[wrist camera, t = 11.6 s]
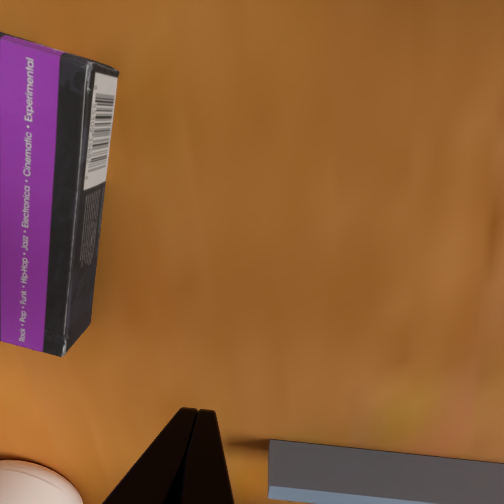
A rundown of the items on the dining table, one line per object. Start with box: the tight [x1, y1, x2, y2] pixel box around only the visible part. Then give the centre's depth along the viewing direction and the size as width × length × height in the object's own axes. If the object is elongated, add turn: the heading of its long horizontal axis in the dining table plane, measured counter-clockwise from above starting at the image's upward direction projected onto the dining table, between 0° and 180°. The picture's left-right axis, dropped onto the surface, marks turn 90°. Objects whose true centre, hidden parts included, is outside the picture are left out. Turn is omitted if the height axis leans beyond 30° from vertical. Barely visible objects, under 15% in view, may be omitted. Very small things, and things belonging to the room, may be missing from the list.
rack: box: [268, 440, 504, 504], centre depth 16 cm, size 28×18×3 cm, turn 175°
